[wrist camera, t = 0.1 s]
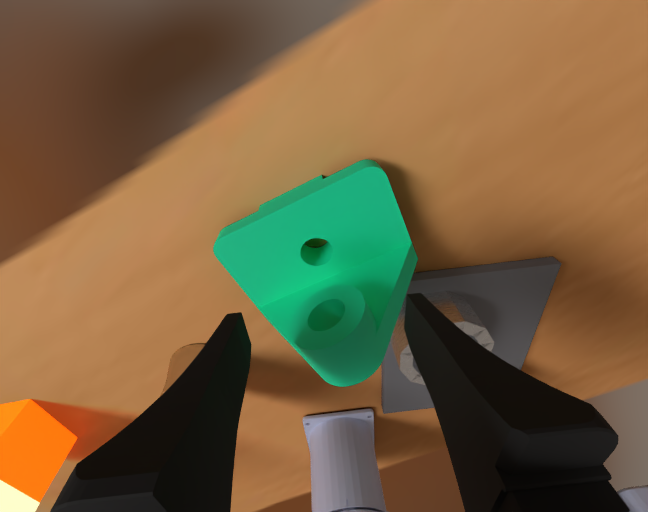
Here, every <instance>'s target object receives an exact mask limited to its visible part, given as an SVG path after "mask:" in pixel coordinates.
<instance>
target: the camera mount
mask: <svg viewBox="0 0 648 512" xmlns="http://www.w3.org/2000/svg"><path fill="white" fill-rule="evenodd" d="M313 238H321V239H324V240H326V241H327V243H326V244H325V245H323V246H321V247H318V248H312V247H308V246H306V245H305V244H304V243H305V242H306V241H308V240H310V239H313ZM213 251H214V254H215V256H216V257H217V259H218V260H219V261H220V262H221V264H222V265H223V266H224V267H225V268H226V270H227V271H228V272H229V273H230V275H231V276H232V277H233V278H234V279H235V281H236V282H237V283H238V284H239V286H240V287H241V288H242V289H243V290H244V292H245V293H246V294H247V295H248V297H249V298H250V299H251V300H252V301H253V303H254V304H255V305H256V306H257V308H258V309H259V310H260V311H261V313H262V314H263V315H264V316H265V317H266V319H267V320H268V321H269V322H270V323H271V324H272V325H273V326H274V327H275V329H276V330H277V331H278V332H279V333H280V334H281V335H282V336H283V337H284V338H285V339H286V340H287V341H288V342H289V343H290V344H291V346H292V347H293V348H294V349H295V350H296V351H297V352H298V353H299V354H300V355H301V356H302V357H303V358H304V359H305V360H306V361H307V363H308V364H309V365H310V366H311V367H312V368H313V369H314V370H315V371H316V372H317V373H318V374H319V375H320V376H321V377H322V378H323V379H324V380H325V381H326V382H327V383H329V384H331V385H334V386H339V387H345V386H352V385H355V384H358V383H360V382H362V381H364V380H366V379H367V378H369V377H370V376H371V375H372V374H373V373H374V372H375V371H376V370H377V369H378V368H379V366H380V365H381V363H382V361H383V359H384V356H385V354H386V351H387V348H388V345H389V342H390V339H391V336H392V333H393V330H394V328H395V325H396V322H397V319H398V316H399V313H400V310H401V307H402V304H403V301H404V299H405V296H406V293H407V290H408V287H409V284H410V281H411V278H412V275H413V272H414V270H415V267H416V264H417V261H418V258H417V255H416V252H415V250H414V247H413V244H412V242H411V239H410V236H409V234H408V231H407V228H406V225H405V223H404V220H403V217H402V215H401V212H400V209H399V207H398V204H397V201H396V199H395V196H394V193H393V191H392V188H391V185H390V183H389V180H388V177H387V175H386V173H385V172H384V171H383V169H382V168H381V167H380V166H379V164H378V163H376V162H375V161H373V160H368V159H366V160H361V161H359V162H357V163H355V164H353V165H351V166H349V167H347V168H345V169H342V170H340V171H338V172H336V173H334V174H332V175H330V176H328V177H326V178H324V179H323V177H322V175H320V176H318V177H316V178H314V179H312V180H310V181H308V182H306V183H304V184H302V185H300V186H298V187H296V188H294V189H292V190H290V191H288V192H286V193H284V194H282V195H280V196H278V197H276V198H274V199H272V200H270V201H268V202H266V203H264V204H262V205H260V207H259V211H257V212H255V213H253V214H251V215H249V216H247V217H245V218H243V219H241V220H239V221H237V222H235V223H233V224H231V225H229V226H227V227H225V228H223V229H222V230H221V231H220V233H219V235H218V238H217V240H216V242H215V244H214V247H213Z"/></svg>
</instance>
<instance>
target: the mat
mask: <svg viewBox="0 0 648 512" xmlns="http://www.w3.org/2000/svg"><path fill="white" fill-rule="evenodd" d="M560 266H561V263H560V262H559V261H558V260H556V259H555V258H554V257H545V258H537V259H529V260H520V261H512V262H503V263H495V264H486V265H478V266H469V267H461V268H453V269H444V270H436V271H427V272H419V273H413V275H412V278H411V281H410V284H409V287H408V290H407V293H406V295H407V294H414V293H421V294H423V293H431V292H439V291H448V292H451V293H453V294H456V295H459V296H462V297H464V298H465V299H466V300H467V302H468V303H469V305H470V306H471V308H472V309H473V311H474V312H475V313H476V315H477V316H478V318H479V319H480V321H481V322H482V323H483V325H484V326H485V328H486V329H487V331H488V333H489V334H490V336H491V338H492V339H493V341H494V346H493V349H492V353H493V354H495V355H496V356H498V357H499V358H501V359H502V360H504V361H506V362H507V363H509V364H511V365H512V366H514V367H516V368H517V369H519V370H521V368H522V365H523V363H524V360H525V358H526V355H527V352H528V350H529V347H530V345H531V342H532V339H533V337H534V334H535V331H536V329H537V326H538V324H539V321H540V318H541V316H542V313H543V310H544V308H545V305H546V303H547V300H548V297H549V295H550V292H551V290H552V287H553V284H554V282H555V279H556V276H557V274H558V271H559V269H560ZM404 303H406V296H405V299H404V301H403V304H404ZM427 408H435V407H434V404H433V402H432V399H431V396H430V394H429V392H428V389H427V387H426V385H423V384H419V383H415V382H411V381H410V380H409V379H408V378H407V377H406V376H405V375H404V374H403V373H402V372H401V371H400V369H399V366H398V363H397V360H396V357H395V354H394V351H393V348H392V344H391V341H390V342H389V345H388V348H387V351H386V354H385V356H384V359H383V361H382V409H383V413H384V414H385V413H393V412H402V411H410V410H418V409H427Z"/></svg>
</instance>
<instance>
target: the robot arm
mask: <svg viewBox="0 0 648 512" xmlns="http://www.w3.org/2000/svg"><path fill="white" fill-rule="evenodd" d="M404 330H405V333H406V337H407V340H408V344H409V347H410V350H411V352H412V355H413V357H414V360H415V362H416V364H417V367H418V369H419V371H420V373H421V376H422V378H423V380H424V383H425V385H426V387H427V389H428V392H429V394H430V396H431V399H432V402H433V404H434V407H435V410H436V413H437V416H438V419H439V422H440V425H441V428H442V432H443V435H444V438H445V441H446V445H447V448H448V451H449V454H450V458H451V461H452V465H453V468H454V472H455V475H456V479H457V482H458V486H459V490H460V494H461V497H462V501H463V505H464V509H465V512H648V485H645V486H636V487H629V488H624V489H622V490H619V491H617V492H616V491H615V490H614V488H613V487H612V485H611V484H610V483H609V482H608V480H611V475H610V473H609V472H608V471H607V469H606V468H605V467H604V465H603V463H604V462H605V460H606V459H607V458H608V457H609V456H610V454H611V453H612V452H613V451H614V449H615V448H616V446H617V444H618V435H617V434H616V432H615V431H614V430H613V429H612V427H611V426H610V425H609V424H608V423H607V421H606V420H605V419H604V418H603V416H602V415H601V414H600V413H599V412H598V411H597V410H596V409H595V408H594V407H593V406H592V405H591V404H589V403H587V402H584V401H582V400H580V399H578V398H575V397H573V396H571V395H569V394H566V393H564V392H562V391H560V390H557V389H555V388H553V387H551V386H549V385H547V384H545V383H543V382H541V381H539V380H537V379H535V378H534V377H532V376H530V375H528V374H526V373H524V372H523V371H521V370H519V369H517V368H516V367H514V366H512V365H511V364H509V363H507V362H506V361H504V360H502V359H501V358H499V357H498V356H496V355H495V354H493V353H492V352H490V351H489V350H487V349H486V348H484V347H483V346H482V345H480V344H479V343H477V342H476V341H475V340H473V339H472V338H471V337H470V336H468V335H467V334H466V333H465V332H463V331H462V330H461V329H460V328H459V327H457V326H456V325H455V324H454V323H453V322H452V321H450V320H449V319H448V318H447V317H446V316H445V315H444V314H443V313H442V312H440V311H439V310H438V309H437V308H436V307H435V306H434V305H433V304H432V303H431V302H430V301H429V300H428V299H427V298H426V297H425V296H424V295H423V294H421V293H414V294H407V295H406V308H405V322H404ZM250 358H251V342H250V339H249V336H248V333H247V329H246V326H245V323H244V320H243V316H242V313H231V314H227V315H226V316H225V317H224V319H223V320H222V322H221V323H220V325H219V326H218V328H217V329H216V330H215V332H214V333H213V335H212V336H211V337H210V339H209V340H208V342H207V343H206V344H205V346H204V347H203V348H202V350H201V351H200V352H199V354H198V355H197V356H196V357H195V359H194V360H193V361H192V362H191V363H190V365H189V366H188V367H187V368H186V370H185V371H184V372H183V373H182V374H181V375H180V376H179V378H178V379H177V380H176V381H175V382H174V383H173V384H172V385H171V386H170V387H169V388H168V389H167V390H166V391H165V393H164V394H162V395H161V396H160V397H159V398H158V399H157V400H156V401H155V402H154V403H153V404H152V405H151V406H150V407H149V408H148V409H146V410H145V411H144V412H143V413H142V414H141V415H140V416H139V417H138V418H136V419H135V420H134V421H133V422H132V423H130V424H129V425H128V426H127V427H126V428H124V429H123V430H122V431H121V432H119V433H118V434H117V435H116V436H114V437H113V438H112V439H110V440H109V441H108V442H107V443H105V444H104V445H102V446H101V447H100V448H98V449H97V450H96V451H94V452H93V453H91V454H90V455H89V456H87V457H86V458H85V459H83V460H82V461H80V462H79V463H77V465H76V467H75V468H74V470H73V472H72V473H71V475H70V477H69V478H68V480H67V482H66V484H65V486H64V487H63V489H62V491H61V493H60V495H59V497H58V498H57V500H56V502H55V504H54V506H53V508H52V509H51V511H50V512H230V508H231V494H232V480H233V469H234V458H235V448H236V438H237V429H238V423H239V417H240V412H241V407H242V403H243V398H244V393H245V388H246V383H247V378H248V373H249V368H250ZM303 425H304V429H305V433H306V437H307V441H308V446H309V450H310V455H311V492H312V512H386V507H385V503H384V497H383V492H382V487H381V481H380V476H379V471H378V466H377V460H376V455H375V450H374V412H373V410H372V409H362V410H353V411H345V412H337V413H328V414H320V415H312V416H305V417H304V418H303Z"/></svg>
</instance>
